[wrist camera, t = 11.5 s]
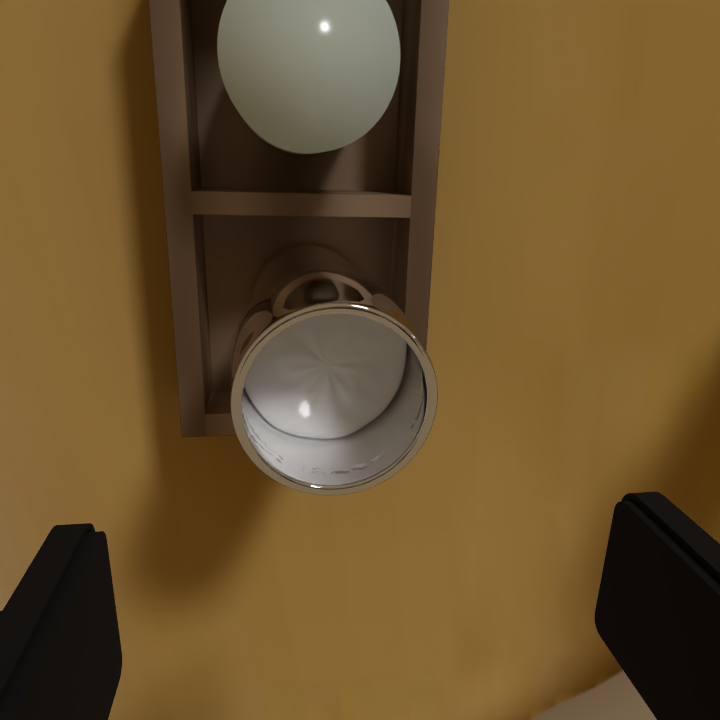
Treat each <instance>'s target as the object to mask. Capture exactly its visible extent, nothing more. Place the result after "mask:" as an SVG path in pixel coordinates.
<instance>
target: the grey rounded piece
mask: <svg viewBox="0 0 720 720" xmlns="http://www.w3.org/2000/svg"><path fill="white" fill-rule="evenodd" d="M217 53H218V63H219V68H220V72H221V77H222V80H223V83H224V86H225V88H226V91H227V93H228V95H229V97H230V99H231V101H232V103H233V104H234V106H235V108H236V109H237V111H238V112H239V114H240V115H241V116H242V118H243V119H244V121H245V122H246V124H247V125H248V126H249V128H250V129H251V130H252V131H253V132H254V134H255V135H256V136H258V137H259V138H260V139H261V140H262V141H263V142H265V143H266V144H268V145H269V146H271V147H273V148H275V149H277V150H279V151H282V152H285V153H289V154H296V155H309V154H315V153H320V152H326V151H331V150H335V149H338V148H341V147H344V146H346V145H348V144H350V143H352V142H354V141H356V140H357V139H359V138H360V137H362V136H363V135H365V134H366V133H367V132H368V131H369V130H370V129H371V128H372V127H373V126H374V125H375V124H376V123H377V122H378V120H379V119H380V118H381V117H382V115H383V114H384V112H385V110H386V109H387V107H388V105H389V103H390V101H391V99H392V97H393V94H394V91H395V88H396V85H397V81H398V76H399V70H400V42H399V34H398V30H397V26H396V22H395V19H394V17H393V14H392V11H391V9H390V7H389V5H388V3H387V1H386V0H227V2H226V4H225V7H224V9H223V12H222V15H221V19H220V23H219V29H218V37H217Z"/></svg>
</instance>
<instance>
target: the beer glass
mask: <svg viewBox="0 0 720 720" xmlns="http://www.w3.org/2000/svg"><path fill="white" fill-rule="evenodd" d="M437 400H438V390H437V380H436V375H435V371H434V368H433V365H432V362H431V360H430V357H429V355H428V353H427V352H426V350H425V348H424V347H423V345H422V344H421V342H420V341H419V339H418V336H417V335H416V333H415V331H414V329H413V327H412V325H411V324H410V322H409V320H408V319H407V317H406V316H405V315H404V313H403V312H402V310H401V309H400V308H399V306H398V305H397V304H396V303H395V301H394V300H393V299H392V298H391V297H390V296H389V295H388V294H387V293H385V292H384V291H383V290H382V289H381V288H380V287H379V286H378V285H376V284H375V283H374V282H372V281H371V280H369V279H368V278H366V277H364V276H362V275H360V274H358V273H357V272H356V270H355V269H354V267H353V266H352V265H351V264H350V263H349V261H348V260H347V259H345V258H344V257H343V256H342V255H340V254H339V253H337V252H336V251H334V250H332V249H329V248H327V247H323V246H319V245H311V244H306V245H297V246H293V247H290V248H287V249H285V250H283V251H281V252H279V253H278V254H276V255H275V256H274V257H272V258H271V259H270V260H269V261H268V262H267V263H266V264H265V265H264V267H263V268H262V270H261V271H260V273H259V275H258V277H257V279H256V281H255V284H254V288H253V296H252V302H251V303H250V304H249V306H248V307H247V309H246V311H245V313H244V315H243V317H242V319H241V321H240V324H239V327H238V330H237V333H236V336H235V340H234V344H233V350H232V359H231V416H232V421H233V426H234V429H235V432H236V435H237V438H238V440H239V442H240V444H241V446H242V448H243V449H244V451H245V452H246V454H247V455H248V457H249V458H250V459H251V460H252V462H253V463H254V464H255V465H256V466H257V467H258V468H259V469H260V470H261V471H262V472H264V473H265V474H266V475H267V476H269V477H270V478H272V479H273V480H275V481H277V482H278V483H280V484H282V485H284V486H286V487H289V488H291V489H294V490H297V491H300V492H304V493H309V494H315V495H344V494H350V493H355V492H359V491H362V490H366V489H368V488H371V487H373V486H376V485H378V484H380V483H382V482H384V481H386V480H387V479H389V478H390V477H392V476H393V475H395V474H396V473H398V472H399V471H400V470H401V469H403V468H404V467H405V466H406V465H407V464H408V463H409V462H410V461H411V460H412V459H413V458H414V456H415V455H416V454H417V453H418V451H419V450H420V449H421V447H422V446H423V444H424V442H425V441H426V439H427V437H428V435H429V433H430V430H431V428H432V425H433V422H434V418H435V414H436V409H437Z"/></svg>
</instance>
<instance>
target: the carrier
mask: <svg viewBox="0 0 720 720" xmlns="http://www.w3.org/2000/svg"><path fill="white" fill-rule="evenodd" d="M386 1H387V3H388V5H389V7H390V9H391V11H392V14H393V17H394V19H395V22H396V26H397V30H398V34H399V42H400V70H399V76H398V81H397V85H396V88H395V91H394V94H393V97H392V99H391V101H390V103H389V105H388V107H387V109H386V110H385V112H384V114H383V115H382V117H381V118H380V119H379V120H378V122H377V123H376V124H375V125H374V126H373V127H372V128H371V129H370V130H369V131H368V132H367V133H366V134H365V135H363V136H362V137H360V138H359V139H357V140H356V141H354V142H352V143H350V144H348V145H346V146H344V147H341V148H338V149H335V150H331V151H326V152H320V153H315V154H309V155H296V154H289V153H285V152H282V151H279V150H277V149H275V148H273V147H271V146H269V145H268V144H266V143H265V142H263V141H262V140H261V139H260V138H259V137H258V136H256V135H255V134H254V132H253V131H252V130H251V129H250V128H249V126H248V125H247V124H246V122H245V121H244V119H243V118H242V116H241V115H240V114H239V112H238V111H237V109H236V108H235V106H234V104H233V103H232V101H231V99H230V97H229V95H228V93H227V91H226V88H225V86H224V83H223V80H222V77H221V72H220V68H219V63H218V53H217V37H218V29H219V23H220V19H221V15H222V12H223V9H224V7H225V4H226V2H227V0H149V10H150V23H151V36H152V49H153V63H154V76H155V89H156V102H157V115H158V128H159V141H160V155H161V168H162V181H163V194H164V207H165V220H166V233H167V247H168V260H169V273H170V286H171V299H172V312H173V325H174V339H175V352H176V365H177V378H178V391H179V404H180V417H181V431H182V437H200V436H227V435H236V432H235V429H234V426H233V421H232V416H231V359H232V350H233V344H234V340H235V336H236V333H237V330H238V327H239V324H240V321H241V319H242V317H243V315H244V313H245V311H246V309H247V307H248V306H249V304H250V303H251V302H252V296H253V288H254V284H255V281H256V279H257V277H258V275H259V273H260V271H261V270H262V268H263V267H264V265H265V264H266V263H267V262H268V261H269V260H270V259H271V258H272V257H274V256H275V255H276V254H278V253H279V252H281V251H283V250H285V249H287V248H290V247H293V246H297V245H306V244H311V245H319V246H323V247H327V248H329V249H332V250H334V251H336V252H337V253H339V254H340V255H342V256H343V257H344V258H345V259H347V260H348V261H349V263H350V264H351V265H352V266H353V267H354V269H355V270H356V272H357V273H358V274H360V275H362V276H364V277H366V278H368V279H369V280H371V281H372V282H374V283H375V284H376V285H378V286H379V287H380V288H381V289H382V290H383V291H384V292H385V293H387V294H388V295H389V296H390V297H391V298H392V299H393V300H394V301H395V303H396V304H397V305H398V306H399V308H400V309H401V310H402V312H403V313H404V315H405V316H406V317H407V319H408V320H409V322H410V324H411V325H412V327H413V329H414V331H415V333H416V335H417V336H418V339H419V341H420V342H421V344H422V345H423V347H424V348H425V350H426V345H427V329H428V314H429V299H430V284H431V268H432V253H433V238H434V223H435V207H436V192H437V177H438V162H439V146H440V131H441V116H442V101H443V85H444V70H445V55H446V40H447V24H448V9H449V0H386Z"/></svg>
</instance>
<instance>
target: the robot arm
mask: <svg viewBox="0 0 720 720" xmlns="http://www.w3.org/2000/svg"><path fill="white" fill-rule="evenodd" d="M595 624H596V628H597V631H598V633H599V635H600V637H601V638H602V640H603V641H604V643H605V644H606V646H607V647H608V648H609V650H610V651H611V653H612V654H613V656H614V657H615V659H616V660H617V662H618V663H619V665H620V666H621V667H622V669H623V670H624V672H625V673H626V675H627V676H628V678H629V679H630V680H631V682H632V684H633V685H634V686H635V688H636V689H637V691H638V692H639V694H640V695H641V697H642V698H643V700H644V701H645V702H646V704H647V705H648V707H649V708H650V710H651V711H652V713H653V714H654V716H655V717H656V719H657V720H720V544H719V543H718V542H717V541H716V540H714V539H713V538H712V537H711V536H710V535H709V534H707V533H706V532H705V531H704V530H703V529H702V528H700V527H699V526H698V525H697V524H696V523H695V522H694V521H692V520H691V519H690V518H689V517H688V516H687V515H685V514H684V513H683V512H682V511H681V510H680V509H678V508H677V507H676V506H675V505H674V504H673V503H671V502H670V501H669V500H668V499H667V498H666V497H665V496H663V495H662V494H660V493H659V492H644V493H629V494H626V495H625V496H624V497H623V499H622V501H621V502H618V503H617V504H616V506H615V509H614V514H613V519H612V524H611V530H610V535H609V541H608V546H607V551H606V557H605V562H604V567H603V573H602V578H601V583H600V589H599V594H598V599H597V605H596V610H595ZM121 669H122V652H121V644H120V636H119V629H118V621H117V614H116V606H115V599H114V591H113V584H112V576H111V569H110V561H109V553H108V546H107V539H106V535H105V532H103V531H100V532H95V529H94V527H93V525H92V524H91V523H88V524H70V525H56V526H54V527H53V528H52V530H51V531H50V533H49V535H48V536H47V538H46V540H45V541H44V543H43V545H42V546H41V548H40V550H39V551H38V553H37V554H36V556H35V558H34V559H33V561H32V563H31V564H30V566H29V568H28V569H27V571H26V573H25V574H24V576H23V578H22V579H21V581H20V583H19V584H18V586H17V588H16V589H15V591H14V593H13V594H12V596H11V598H10V599H9V601H8V603H7V604H6V606H5V608H4V609H3V611H0V720H108V717H109V714H110V710H111V707H112V704H113V700H114V697H115V693H116V690H117V687H118V683H119V680H120V676H121Z"/></svg>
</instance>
